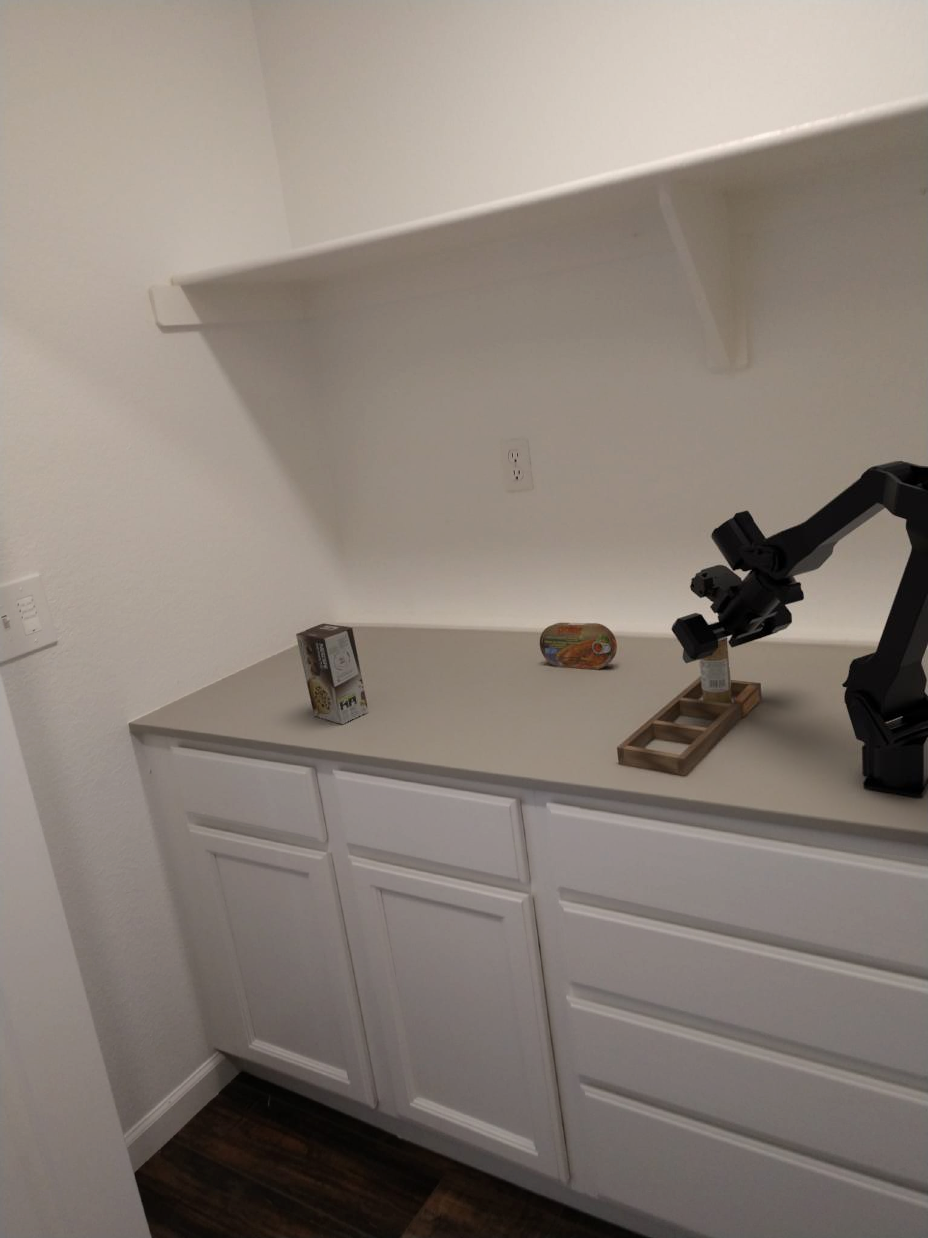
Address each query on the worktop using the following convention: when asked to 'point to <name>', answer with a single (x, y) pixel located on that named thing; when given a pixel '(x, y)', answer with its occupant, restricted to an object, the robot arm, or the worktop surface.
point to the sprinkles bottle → (716, 674)
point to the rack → (687, 728)
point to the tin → (578, 645)
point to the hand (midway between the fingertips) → (708, 652)
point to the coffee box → (332, 672)
